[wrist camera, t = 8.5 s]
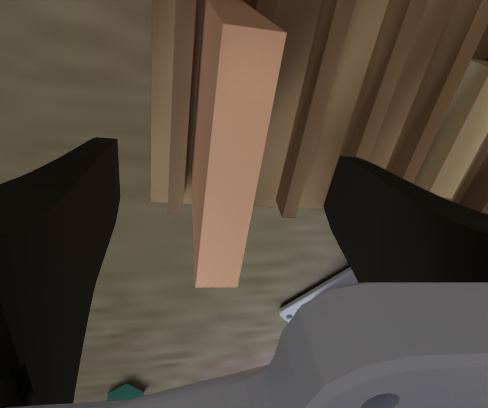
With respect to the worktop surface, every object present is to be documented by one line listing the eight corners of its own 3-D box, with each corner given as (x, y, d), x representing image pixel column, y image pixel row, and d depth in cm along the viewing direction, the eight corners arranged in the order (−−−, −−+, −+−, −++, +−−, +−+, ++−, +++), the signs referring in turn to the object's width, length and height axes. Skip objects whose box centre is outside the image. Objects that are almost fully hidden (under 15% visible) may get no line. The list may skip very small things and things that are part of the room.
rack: (631, 17, 20) (686, 24, 18) (504, 210, 27) (531, 232, 25) (153, -75, 15) (149, -80, 12) (151, 194, 22) (148, 220, 20)
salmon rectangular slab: (240, -1, 16) (286, 32, 9) (218, 176, 21) (237, 287, 14) (204, -7, 16) (223, 23, 9) (190, 175, 20) (195, 287, 13)
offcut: (480, 58, 19) (520, 72, 17) (424, 174, 23) (451, 198, 20) (453, 54, 19) (492, 68, 16) (401, 172, 22) (426, 197, 20)
